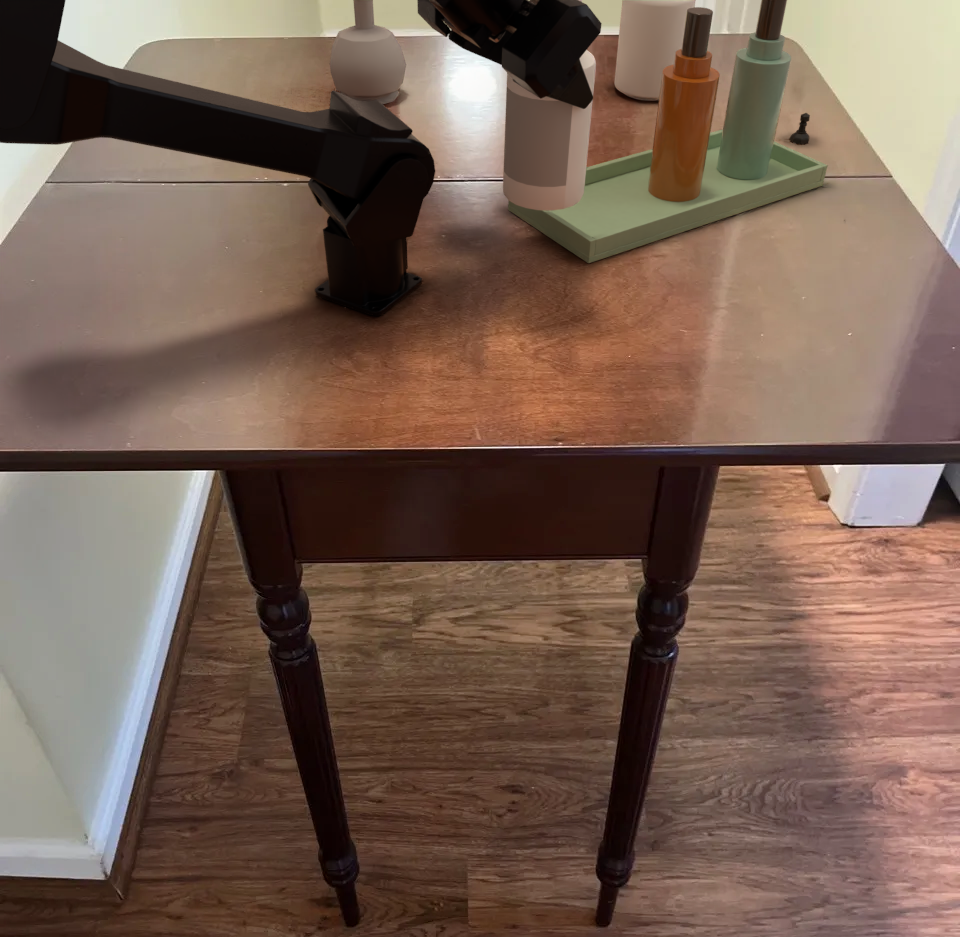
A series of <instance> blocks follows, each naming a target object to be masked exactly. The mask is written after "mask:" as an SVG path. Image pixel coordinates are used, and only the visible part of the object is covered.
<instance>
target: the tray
mask: <svg viewBox="0 0 960 937" xmlns="http://www.w3.org/2000/svg"><path fill="white" fill-rule="evenodd" d="M722 132H723V128H722V129H717V130H715V131H711V132H710V138H709V144H708V150H707V156H706V162H705V168H704V174H703V180H702V186H701V192H700V195H699V196H698V197H697V198H695V199H693V200H690V201H684V202H673V201H666V200H662V199H659V198H657V197H655V196H653V195H651V194H650V193H649V191H648V182H649V174H650V166H651V158H652V151H653V148H650V149H648V150H644V151H640V152H636V153H633V154H629V155H626V156H622V157H619V158H615V159H611V160H607V161H604V162H601V163H597V164H593V165H590V166H586V176H585V187H584V194H583V196H582V198H581V200H580V201H579V202H578V203H576V204H575V205H573V206H571V207H568V208H565V209H559V210H534V209H528V208H524V207H521V206H518V205H516V204H514V203H512V202H510V201H509V200H508V199H507V200H508V201H507V202H508V203H507V204H508V205H507V210H508V211H509V212H510V213H512V214H514V215H515V216H516V217H518V218H519V219H521V220H522V221H524V222H526V223H527V224H528V225H530V226H532V227H533V228H535V229H536V230H538V231H539V232H541V233H542V234H543V235H545V236H547V237H548V238H549V239H551V240H553V241H554V242H556V244H558V245H559V246H561V247H563V248H564V249H566V250H568V251H569V252H570V253H572V254H574V255H575V256H576V257H578V258H580V259H581V260H583V261H584V262H586V263H587V264H590V263H595V262H597V261H601V260H604V259H605V258H609V257H612V256H615V255H619V254H621V253H624V252H628V251H630V250H633V249H636V248H640V247H642V246H645V245H648V244H651V243H653V242H657V241H660V240H663V239H666V238H669V237H672V236H675V235H678V234H681V233H684V232H688V231H691V230H693V229H697V228H699V227H703V226H705V225H709V224H711V223H715V222H717V221H721V220H724V219H727V218H729V217H733V216H736V215H739V214H741V213H745V212H748V211H750V210H753V209H756V208H759V207H762V206H766V205H768V204H771V203H775V202H778V201H780V200H783V199H786V198H790V197H792V196H795V195H798V194H801V193H804V192H807V191H810V190H813V189H817V188H819V187H822V186H823V185H824V182H825V178H826V174H827V170H828V166H829V165H828V164H826V163H824V162H822V161H819V160H817V159H815V158H813V157H811V156H808V155H806V154H804V153H801V152H799V151H797V150H795V149H792V148H790V147H788V146H786V145H784V144H781V143H779V142H777V141H775V140H774V144H773V149H772V154H771V158H770V163H769V168H768V172H767V174H766V175H765V176H764V177H762V178H759V179H753V180H742V179H735V178H731V177H728V176H725V175H723V174H721V173H720V172H719V171H718V170H717V161H718V155H719V149H720V144H721V138H722Z"/></svg>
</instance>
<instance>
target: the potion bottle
mask: <svg viewBox="0 0 960 937" xmlns="http://www.w3.org/2000/svg"><path fill="white" fill-rule="evenodd" d="M353 13H354V25H352V26H349V27H346V28H344V29H342V30H339V31H338V32H337V34H336V37H335V38H334V41H333V43H332V45H331V51H330V58H329V71H330V75H331V78H332V81H333V85H334V87H335V91H337V92H340V93H342V94H344V95H346V96H348V97H350V98H352V99H355V100H358V101H371V100H378V101H379V102H380V103H381V104H383V105H384V104H389V103H393V102H395V100H396V99H397V98H398V96H399V95H400V92H399V91H398V90H399V89H400V88H401V86H402V85H403V83H404V80H405V74H406V69H407V62H406V58H405V54H404V51H403V47H402V45H401V43H400V42H399V40H398V39H397V37H396V36H395V33H394V32H393V31H391V30H390V29H389V28H387V27H385V26H380V25H376V24H375V13H374V0H353Z"/></svg>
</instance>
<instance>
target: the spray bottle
mask: <svg viewBox="0 0 960 937" xmlns="http://www.w3.org/2000/svg"><path fill="white" fill-rule="evenodd" d="M529 1H530V2H532V3H534V4H537V3H538V2H539V0H529ZM578 1H580V2H583V0H578ZM580 62H581V65H582V68H583V70H584V73H585V76H586V79H587V81H588V84H589V87H590V89H591V92H592V95H593V96H594V91H595V82H596V81H595V80H596V69H597V63H596V62H597V61H596V57H595V56H594V54H593V53H591V52H590V51H589V50H588V49H587V50H586V51H585V52H584V54H583V55H582V56H581V57H580ZM505 91H506V92H505V95H506V96H505V98H506V99H505V120H504V121H505V122H504V144H503V146H504V147H503V149H504V150H503V172H502V173H503V174H502V176H503V177H502V193H503V195H504V197H505V198H506V199H507V200H509V201H510V202H512V203H514V204H516V205H518V206H521V207H524V208H528V209H534V210H559V209H565V208H568V207H571V206H573V205H575V204H576V203H578V202H579V201H580V200H581V198H582V196H583V194H584V187H585V176H586V167H588V166H587V164H588V154H589V145H590V144H589V143H590V134H591V124H592V123H591V122H592V111H593V101H594V99H593V100H592V101H591V103H590V104H589V105H588V106H587V107H586V108H585V109H582V108H579V107H576V106H573V105H571V104H568V103H565V102H562V101H559V100H556V99H553V98H550V97H547V96H546V97H544V98H541V99H540V98H539V97H537V96H536V95H534V94H533V93H531V92H529V91H527V90H526V89H524V88H523V87H521V86H520V85H518V84H517V83H515V82H514V81H513V78H512V77H511V76H510V75H509V74H508V73H507V72H506V90H505Z"/></svg>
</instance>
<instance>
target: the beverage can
mask: <svg viewBox="0 0 960 937" xmlns="http://www.w3.org/2000/svg"><path fill="white" fill-rule="evenodd" d="M694 7H696V0H621V10H620V21H619V29H618V31H619V32H618V41H617V42H618V43H617V52H616V60H615V61H616V62H615V71H614V72H615V74H614V84H613V85H614V87H615V89H616V90H617V91H618V92H620V93H622V94H623V95H625V96H627V97H629V98H632V99H634V100H640V101H649V102H650V101H652V102H654V101H659V95H660V87H661V79H662V71H663V69H664V68H665V67H667V66H670V65H673V64H674V59H675V52H676V51H677V50H679V49H682V43H683V35H684V28H685V21H686V14H687V10H688V9H689V8H694Z"/></svg>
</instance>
